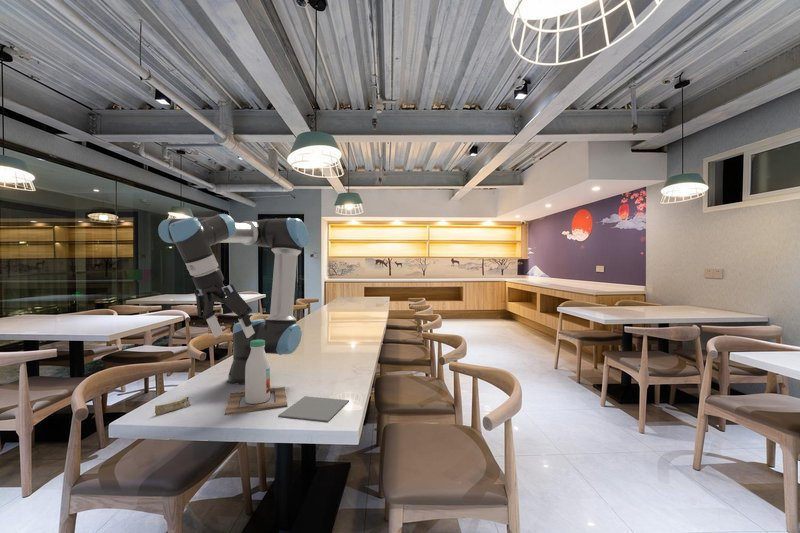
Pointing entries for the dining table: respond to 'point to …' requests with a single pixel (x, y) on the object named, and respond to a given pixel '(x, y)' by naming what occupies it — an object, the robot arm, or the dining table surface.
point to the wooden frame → (235, 400)
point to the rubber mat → (314, 409)
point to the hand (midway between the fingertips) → (234, 335)
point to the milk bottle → (257, 374)
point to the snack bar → (171, 406)
